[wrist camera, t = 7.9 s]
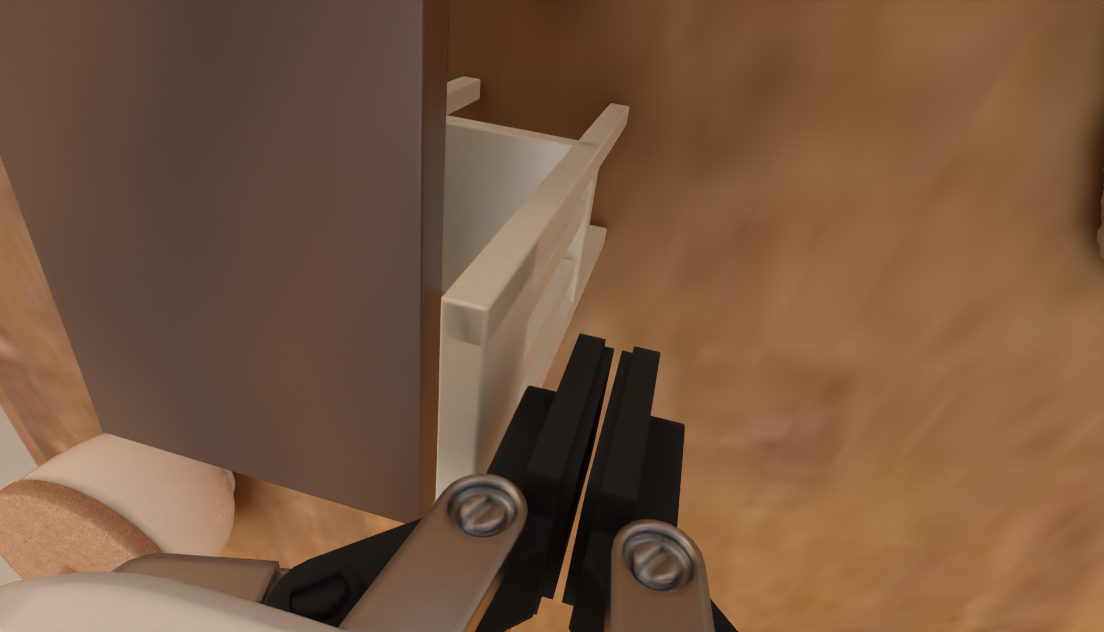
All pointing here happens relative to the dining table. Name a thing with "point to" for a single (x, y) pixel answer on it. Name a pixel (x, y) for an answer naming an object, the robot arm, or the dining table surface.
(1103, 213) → the long grey stone
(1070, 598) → the dining table surface
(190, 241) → the toy table
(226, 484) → the lidded bowl
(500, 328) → the chair
